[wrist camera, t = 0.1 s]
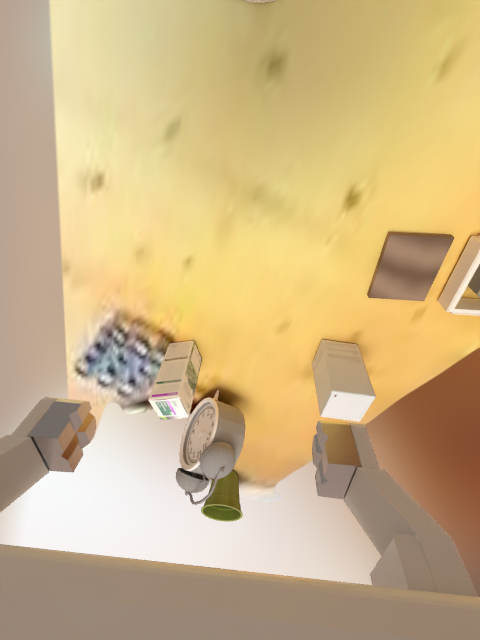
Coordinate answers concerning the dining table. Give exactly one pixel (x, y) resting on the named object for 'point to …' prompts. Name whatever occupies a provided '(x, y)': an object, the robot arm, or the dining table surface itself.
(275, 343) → the dining table surface
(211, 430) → the alarm clock
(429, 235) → the walnut board
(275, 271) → the dining table surface
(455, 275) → the white backed tray
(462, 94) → the dining table surface
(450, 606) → the robot arm
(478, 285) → the sage box
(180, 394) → the syrup box
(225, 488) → the plant pot
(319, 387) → the supplement box
